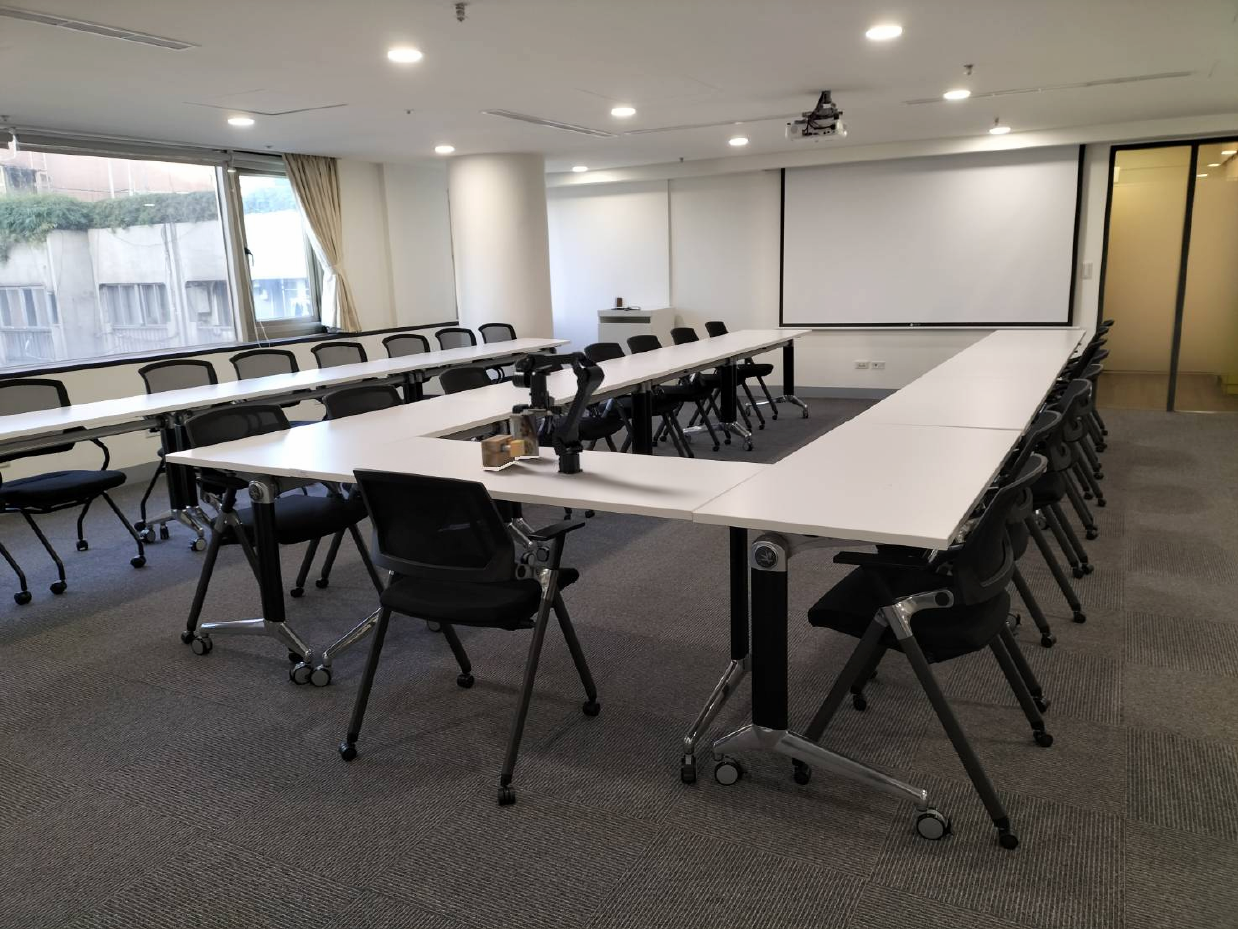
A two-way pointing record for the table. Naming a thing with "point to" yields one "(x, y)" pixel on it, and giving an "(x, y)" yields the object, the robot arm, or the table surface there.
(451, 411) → the table surface
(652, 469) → the table surface
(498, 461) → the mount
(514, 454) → the knob
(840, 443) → the table surface
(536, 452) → the coffee box
